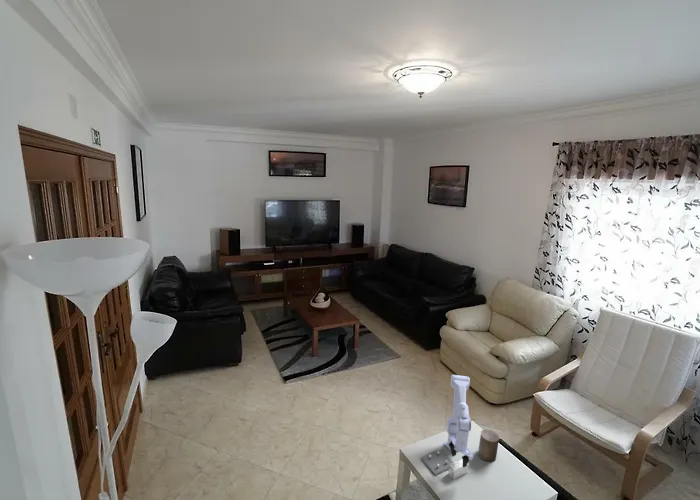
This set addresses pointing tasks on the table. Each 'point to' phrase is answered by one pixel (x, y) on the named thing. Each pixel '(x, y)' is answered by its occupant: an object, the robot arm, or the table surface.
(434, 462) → the pin tray
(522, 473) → the table surface
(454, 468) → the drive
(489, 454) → the pillar candle
